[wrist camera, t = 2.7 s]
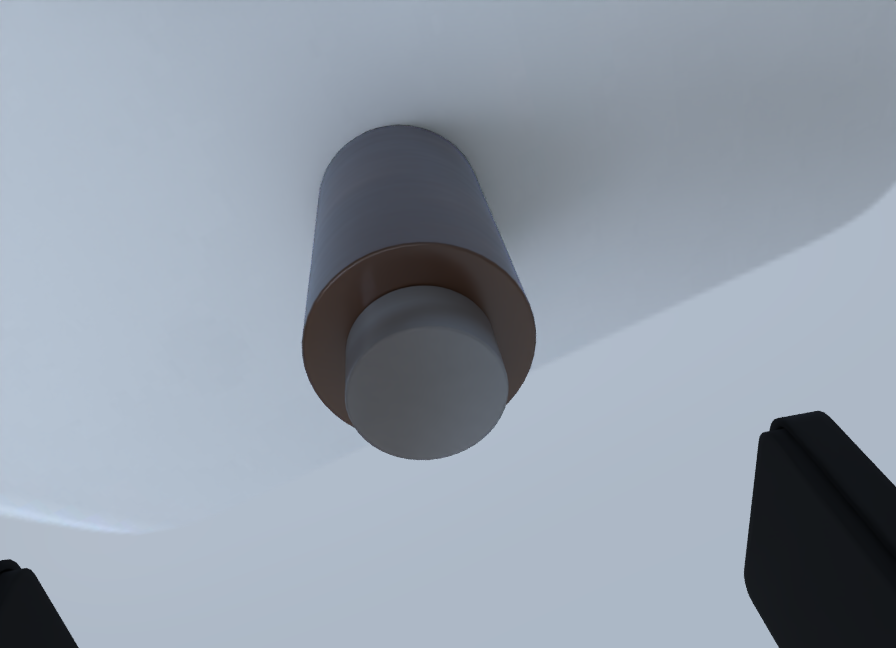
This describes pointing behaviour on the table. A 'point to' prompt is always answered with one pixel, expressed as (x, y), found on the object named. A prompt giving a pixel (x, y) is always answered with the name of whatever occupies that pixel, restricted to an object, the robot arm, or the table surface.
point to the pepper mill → (412, 298)
